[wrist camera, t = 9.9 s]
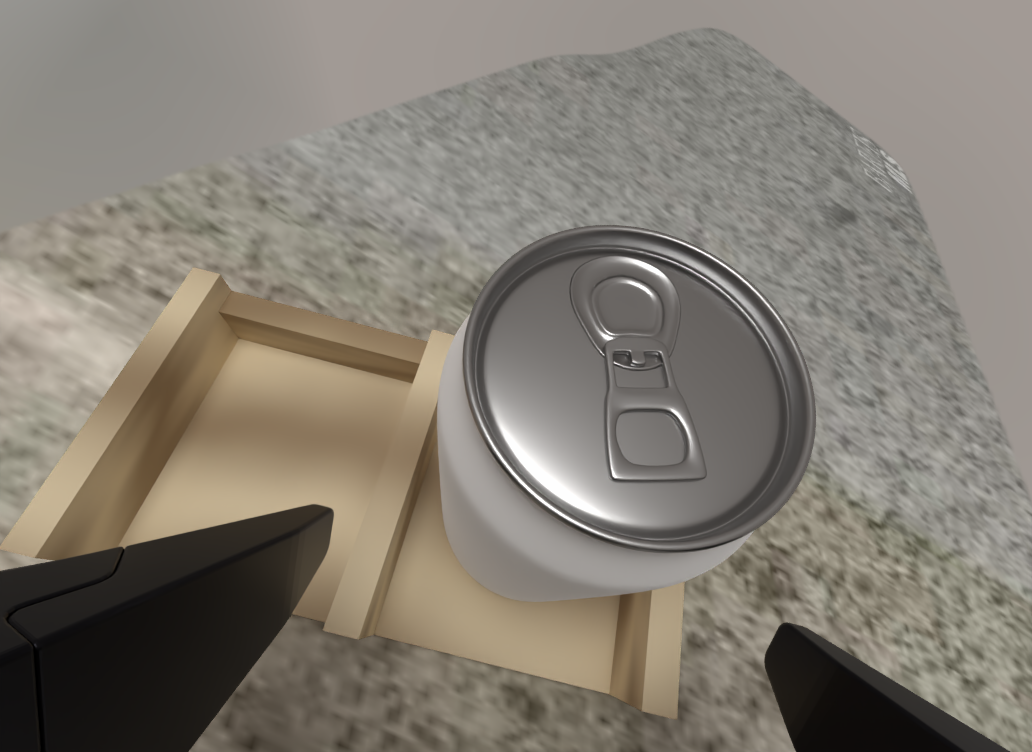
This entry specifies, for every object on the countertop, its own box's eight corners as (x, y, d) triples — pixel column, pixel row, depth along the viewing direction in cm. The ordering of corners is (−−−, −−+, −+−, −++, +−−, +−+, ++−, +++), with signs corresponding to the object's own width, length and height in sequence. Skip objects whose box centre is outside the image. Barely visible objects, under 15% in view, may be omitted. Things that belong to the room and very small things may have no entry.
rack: (628, 697, 17) (677, 720, 13) (95, 562, 16) (-2, 548, 13) (653, 433, 21) (694, 397, 18) (236, 325, 21) (193, 267, 17)
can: (600, 427, 20) (775, 215, 9) (623, 598, 17) (913, 577, 6) (443, 427, 19) (437, 194, 8) (440, 607, 16) (425, 603, 6)
